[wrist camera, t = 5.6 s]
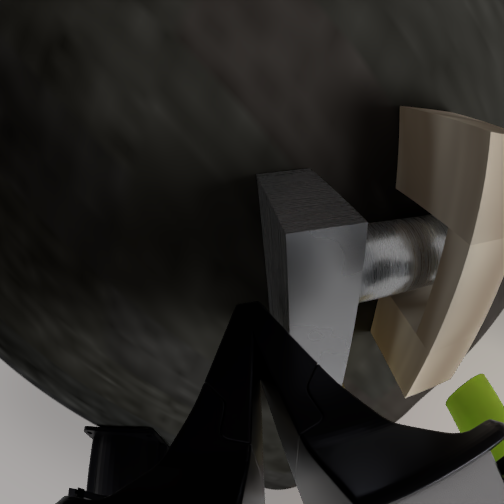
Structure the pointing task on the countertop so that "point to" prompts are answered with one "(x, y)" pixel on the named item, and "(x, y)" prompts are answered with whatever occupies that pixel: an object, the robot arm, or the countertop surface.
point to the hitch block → (446, 244)
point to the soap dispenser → (476, 407)
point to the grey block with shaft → (335, 261)
